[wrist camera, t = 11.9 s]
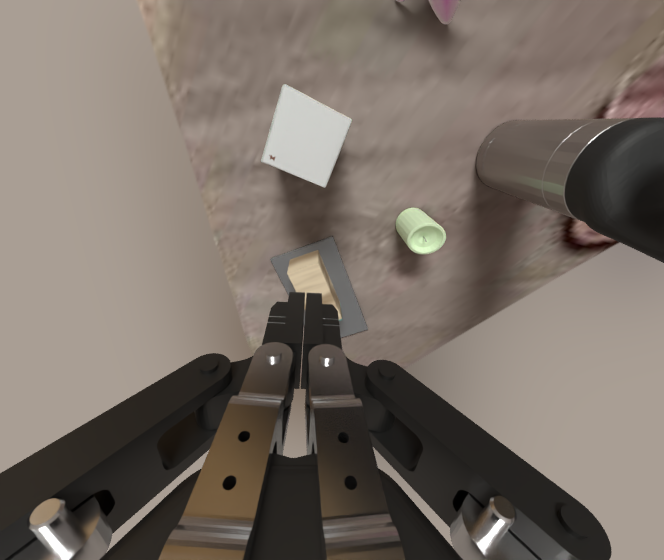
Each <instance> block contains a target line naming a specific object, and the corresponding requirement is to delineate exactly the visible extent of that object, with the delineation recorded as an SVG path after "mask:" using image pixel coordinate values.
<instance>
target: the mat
mask: <svg viewBox="0 0 664 560" xmlns="http://www.w3.org/2000/svg"><path fill="white" fill-rule="evenodd" d="M316 250H318V251H319V253H320V256H321V258H322V260H323V263H324V265H325V268H326V270H327V272H328V275H329V277H330V280H331V282H332V284H333V287H334V289H335V292H336V294H337V296H338V299H339V301H340V304H341V312H342V319H343V320H341V321H339V326H340V336H341V338H342V337H345V336H348V335H351V334H355V333H358V332H361V331H364V330H367V329H368V328H367V325H366V322H365V320H364V317H363V315H362V312H361V309H360V307H359V304H358V301H357V299H356V296H355V293H354V291H353V288H352V286H351V283H350V280H349V278H348V275H347V272H346V270H345V267H344V265H343V262H342V259H341V257H340V254H339V251H338V249H337V246H336V243H335V241H334V238H333V236H332V237H329V238H326V239H323V240H320V241H318V242H315V243H312V244H309V245H306V246H304V247H301V248H298V249H295V250H293V251H290V252H287V253H284V254H281V255H279V256H276V257H273V258H271V259H270V260H271V262H272V264H273V266H274V268H275V270H276V272H277V274H278V276H279V278H280V280H281V281H282V283H283V285H284V287H285V289H286V291H287V293H288V295H289V292H296V290H295V288H294V286H293V284H292V282H291V280H290V278H289V276H288V274H287V271H288V266H289V261H290V259H293V258H296V257H299V256H302V255H304V254H307V253H310V252H313V251H316ZM304 326H305V309H304Z"/></svg>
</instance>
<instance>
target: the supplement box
mask: <svg viewBox="0 0 664 560" xmlns="http://www.w3.org/2000/svg"><path fill="white" fill-rule="evenodd" d="M351 122H352V119H350V118H348V117H347V116H345V115H343V114H341V113H339V112H337V111H335V110H333V109H331V108H330V107H328V106H326V105H324V104H322V103H320V102H318V101H316V100H314V99H312V98H311V97H309V96H307V95H305V94H303V93H301V92H299V91H297V90H295V89H294V88H292V87H290V86H288V85H286V84H284V85H283V86H282V89H281V93H280V96H279V100H278V103H277V107H276V110H275V114H274V117H273V121H272V124H271V127H270V131H269V135H268V139H267V142H266V145H265V149H264V152H263V156H262V159H261V162H262V163H265V164H267V165H270V166H272V167H275V168H277V169H280V170H282V171H285V172H287V173H290V174H292V175H295V176H297V177H300V178H302V179H304V180H307V181H309V182H312V183H314V184H317V185H319V186H321V187H324V188H325V187H326V185H327V183H328V181H329V178H330V176H331V173H332V171H333V168H334V166H335V163H336V161H337V158H338V156H339V153H340V151H341V148H342V146H343V143H344V141H345V138H346V135H347V133H348V130H349V127H350V125H351Z"/></svg>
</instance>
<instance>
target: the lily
mask: <svg viewBox="0 0 664 560" xmlns="http://www.w3.org/2000/svg"><path fill="white" fill-rule="evenodd" d="M396 1H398V2H401V1H405V0H396ZM428 1H429V3H430V5H431V7H432V9H433V11H434V13H435V14H436V16H437V17H438V19H439V20H440V21H441V22H442V23H443V24H449V23H450V21H451V20H452V18H453V16H454V14H455V12H456V10H457V8H458V5H459V3H460V1H461V0H428Z"/></svg>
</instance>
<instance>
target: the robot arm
mask: <svg viewBox="0 0 664 560" xmlns="http://www.w3.org/2000/svg"><path fill="white" fill-rule="evenodd" d="M476 168H477V173H478V176H479V178H480V180H481V181H482V182H483V183H484V184H485V185H487V186H488V187H491V188H494V189H496V190H499V191H502V192H504V193H507V194H509V195H512V196H515V197H518V198H520V199H523V200H526V201H528V202H531V203H534V204H537V205H539V206H542V207H545V208H547V209H550V210H553V211H556V212H558V213H561V214H564V215H567V216H570V217H572V218H575V219H578V220H580V221H583V222H585V223H586V224H587V225H588V226H589V227H590V228H591V229H593V230H594V231H596V232H598V233H600V234H602V235H604V236H607V237H609V238H612V239H614V240H616V241H618V242H621V243H623V244H625V245H627V246H630V247H632V248H634V249H636V250H638V251H640V252H642V253H644V254H646V255H648V256H650V257H653V258H655V259H657V260H659V261H661V262H663V263H664V118H622V119H563V120H514V121H509V122H506V123H503V124H502V125H500V126H498V127H497V128H495V129H494V130H493V131H492V132H491V133H490V134H489V135H488V136H487V137H486V139H485V140H484V142H483V143H482V145H481V147H480V149H479V152H478V155H477V160H476ZM304 306H305V292H289V298H288V302H277V303H276V304H275V305H274V306H273V307H272V308H271V311H270V315H269V319H268V323H267V327H266V331H265V335H264V339H263V343H262V346H260V347H259V348H258V349H257V350H256V351H255V353H254V356H252V357H250V358H248V359H245V360H241V361H237V362H231V363H230V360H229V359H228V358H227V357H226V356H224V355H222V354H216V353H213V354H206V355H203V356H200V357H198V358H196V359H195V360H193V361H191V362H189V363H188V364H186V365H184V366H183V367H181V368H179V369H178V370H176V371H174V372H172V373H171V374H169V375H167V376H166V377H164V378H162V379H160V380H159V381H157V382H155V383H154V384H152V385H150V386H149V387H147V388H145V389H143V390H142V391H140V392H138V393H137V394H135V395H133V396H131V397H130V398H128V399H126V400H125V401H123V402H121V403H120V404H118V405H116V406H114V407H113V408H111V409H109V410H108V411H106V412H104V413H103V414H101V415H99V416H97V417H96V418H94V419H92V420H91V421H89V422H87V423H86V424H84V425H82V426H80V427H79V428H77V429H75V430H74V431H72V432H70V433H68V434H67V435H65V436H63V437H62V438H60V439H58V440H56V441H55V442H53V443H52V444H50V445H48V446H46V447H45V448H43V449H41V450H39V451H38V452H36V453H34V454H33V455H31V456H29V457H27V458H26V459H24V460H23V461H21V462H19V463H17V464H16V465H14V466H12V467H11V468H9V469H7V470H5V471H4V472H2V473H0V560H609V559H610V557H611V546H610V541H609V539H608V536H607V534H606V532H605V530H604V529H603V527H602V526H601V524H600V523H599V521H598V520H597V519H596V518H595V517H594V515H593V514H592V513H591V512H590V511H589V510H588V509H587V508H586V507H585V506H583V505H582V504H581V503H580V502H578V501H577V500H576V499H575V498H573V497H572V496H571V495H569V494H568V493H567V492H565V491H564V490H562V489H561V488H560V487H559V486H557V485H556V484H555V483H553V482H552V481H551V480H549V479H548V478H546V477H545V476H544V475H543V474H541V473H540V472H539V471H537V470H536V469H535V468H534V467H532V466H531V465H530V464H528V463H527V462H526V461H524V460H523V459H521V458H520V457H519V456H518V455H516V454H515V453H514V452H512V451H511V450H510V449H508V448H507V447H506V446H504V445H503V444H502V443H500V442H499V441H498V440H496V439H495V438H494V437H493V436H491V435H490V434H488V433H487V432H486V431H485V430H483V429H482V428H481V427H479V426H478V425H477V424H475V423H474V422H473V421H471V420H470V419H469V418H467V417H466V416H465V415H463V414H462V413H461V412H459V411H458V410H456V409H455V408H454V407H453V406H452V405H450V404H449V403H448V402H446V401H445V400H443V399H442V398H441V397H440V396H438V395H437V394H436V393H434V392H433V391H432V390H430V389H429V388H427V387H426V386H425V385H424V384H422V383H421V382H420V381H418V380H417V379H416V378H414V377H413V376H412V375H411V374H409V373H408V372H406V371H405V370H404V369H403V368H401V367H400V366H399V365H397V364H395V363H393V362H391V361H387V360H377V361H374V362H372V363H371V364H370V365H369V366H368V367H367V366H363V365H360V364H357V363H355V362H352V361H351V360H349V359H348V358H347V357H346V356H345V353H344V352H343V351H342V345H341V336H340V326H339V317H338V311H337V309H336V308H335V307H334V306H333V304H322V293H307V294H306V310H305V326H304V342H303V359H302V378H301V389H306V398H305V420H306V445H307V455H306V456H302V457H298V458H289V457H286V456H283V450H284V444H285V439H286V433H287V427H288V422H289V416H290V411H291V402H292V400H293V394H294V388H295V389H299V384H300V369H301V355H302V340H303V324H304ZM373 447H374V448H375V449H376V450H377V451H378V452H379V453H380V454H381V455H382V456H383V457H384V459H385V460H386V461H387V462H388V463H389V464H390V465H391V466H392V467H393V468H394V469H395V470H396V471H397V472H398V473H399V474H400V475H401V477H402V478H403V479H404V480H405V481H406V482H407V483H408V484H409V485H410V486H411V487H412V488H413V489H414V490H415V491H416V492H417V493H418V494H419V496H421V498H422V499H423V500H424V501H425V502H426V503H427V504H428V505H429V506H430V507H431V508H432V509H433V510H434V511H435V513H436V514H437V515H438V516H439V517H440V518H441V519H442V520H443V521H444V522H445V523H446V524H447V525H448V526H449V527H450V536H451V541H452V544H453V547H454V549H455V550H454V549H453V547H452V546H451V545H450V544H449V543H448V542H447V541H446V540H445V538H444V537H443V536H442V535H441V534H440V532H439V531H438V530H437V529H436V528H435V527H434V525H433V524H432V523H431V522H430V521H429V520H428V519H427V517H426V516H425V515H424V514H423V513H422V512H421V511H420V509H419V508H418V507H417V506H416V505H415V503H414V502H413V501H412V500H411V499H410V498H409V497H408V495H407V494H406V493H405V492H404V491H403V490H402V488H401V487H400V486H399V485H398V484H397V483H396V482H395V481H394V480H393V479H392V478H391V477H390V476H389V475H387V474H386V473H385V472H383V471H381V470H380V469H378V466H377V462H376V458H375V454H374V450H373ZM208 450H209V452H208V454H207V457H206V459H205V462H204V464H203V467H202V469H200V470H198V471H197V472H195V473H194V474H192V475H190V476H189V477H188V478H187V479H186V480H184V481H183V482H181V483H180V484H179V485H178V486H177V487H176V488H175V489H174V490H173V491H172V492H171V493H169V495H167V496H166V497H165V498H164V499H163V500H162V501H161V502H160V503H159V504H158V505H157V506H156V507H155V508H154V509H153V510H152V511H150V512H149V513H148V514H147V515H146V516H145V517H144V518H143V519H142V520H141V521H140V522H139V523H138V524H137V525H136V526H134V527H133V528H132V529H131V530H130V531H129V532H128V533H127V534H126V535H125V536H124V537H123V538H122V539H121V540H120V541H118V542H117V544H115V545H114V546H113V547H112V548H111V549H110V550H109V551H108V552H107V553H106V551H107V550H108V548H109V544H110V542H111V538H112V534H113V533H114V532H115V531H116V530H117V529H118V528H119V527H120V526H122V525H123V524H124V523H125V522H126V521H127V520H129V519H130V518H131V517H132V516H133V515H134V514H135V513H137V512H138V511H139V510H140V509H141V508H142V507H143V506H145V505H146V504H147V503H148V502H149V501H150V500H151V499H153V498H154V497H155V496H156V495H157V494H158V493H160V492H161V491H162V490H163V489H164V488H165V487H166V486H168V485H169V484H170V483H171V482H172V481H173V480H174V479H176V478H177V477H178V476H179V475H180V474H181V473H182V472H184V471H185V470H186V469H187V468H188V467H189V466H191V465H192V464H193V463H194V462H195V461H196V460H197V459H199V458H200V457H201V456H202V455H203V454H204V453H205V452H207V451H208Z"/></svg>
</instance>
